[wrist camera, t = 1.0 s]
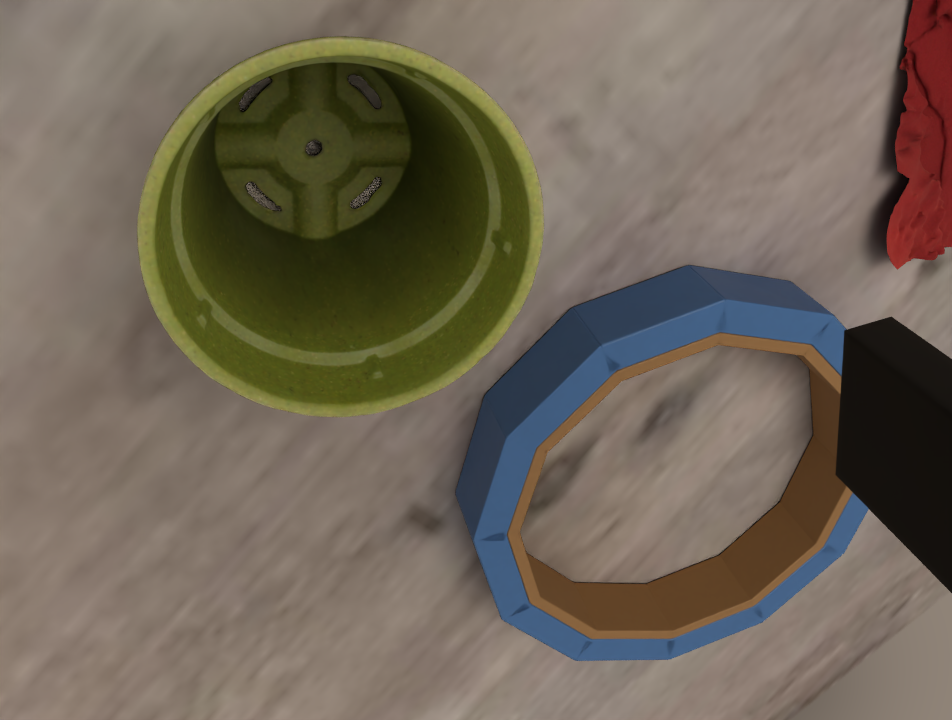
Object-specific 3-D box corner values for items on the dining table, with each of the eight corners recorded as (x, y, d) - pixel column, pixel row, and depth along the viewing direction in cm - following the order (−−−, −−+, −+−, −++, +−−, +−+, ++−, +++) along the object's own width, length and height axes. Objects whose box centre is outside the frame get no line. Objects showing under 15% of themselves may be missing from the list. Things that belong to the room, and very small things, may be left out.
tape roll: (699, 179, 32) (740, 208, 30) (913, 418, 41) (959, 456, 39) (373, 505, 36) (385, 556, 34) (635, 660, 45) (661, 709, 43)
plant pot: (296, -97, 25) (332, -65, 18) (518, 129, 30) (618, 227, 23) (88, 152, 27) (44, 273, 20) (329, 327, 32) (365, 477, 24)
